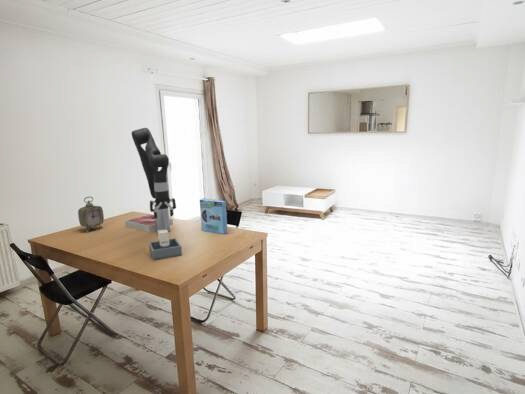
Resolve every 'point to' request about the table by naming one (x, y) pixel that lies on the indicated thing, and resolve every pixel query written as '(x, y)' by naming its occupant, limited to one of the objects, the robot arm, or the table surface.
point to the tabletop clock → (90, 215)
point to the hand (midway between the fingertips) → (164, 217)
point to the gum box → (213, 215)
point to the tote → (165, 250)
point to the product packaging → (144, 223)
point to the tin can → (165, 245)
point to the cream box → (163, 235)
